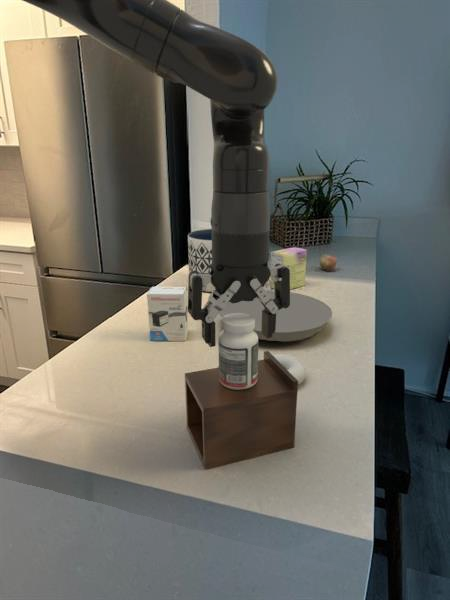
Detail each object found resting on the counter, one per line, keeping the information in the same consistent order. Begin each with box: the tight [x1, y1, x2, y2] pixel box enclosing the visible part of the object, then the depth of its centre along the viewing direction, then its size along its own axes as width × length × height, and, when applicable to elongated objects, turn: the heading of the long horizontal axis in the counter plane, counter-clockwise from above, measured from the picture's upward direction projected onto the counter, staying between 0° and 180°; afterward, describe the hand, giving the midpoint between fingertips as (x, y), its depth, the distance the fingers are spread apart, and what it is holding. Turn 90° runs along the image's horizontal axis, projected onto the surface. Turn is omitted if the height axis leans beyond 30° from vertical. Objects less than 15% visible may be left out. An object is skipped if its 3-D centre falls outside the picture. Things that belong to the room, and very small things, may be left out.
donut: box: [258, 353, 307, 385], centre depth 83 cm, size 10×4×10 cm
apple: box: [318, 253, 338, 272], centre depth 153 cm, size 6×8×6 cm
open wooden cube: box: [184, 350, 299, 470], centre depth 65 cm, size 14×10×11 cm
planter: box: [187, 228, 215, 293], centre depth 137 cm, size 18×18×16 cm
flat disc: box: [218, 290, 333, 342], centre depth 107 cm, size 28×28×4 cm
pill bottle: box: [217, 313, 259, 390], centre depth 62 cm, size 6×6×10 cm
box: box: [269, 246, 308, 290], centre depth 135 cm, size 10×6×12 cm, turn 128°
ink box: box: [146, 286, 189, 342], centre depth 100 cm, size 8×5×12 cm, turn 88°
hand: (239, 340), depth 61 cm, fingers open, 8 cm apart
